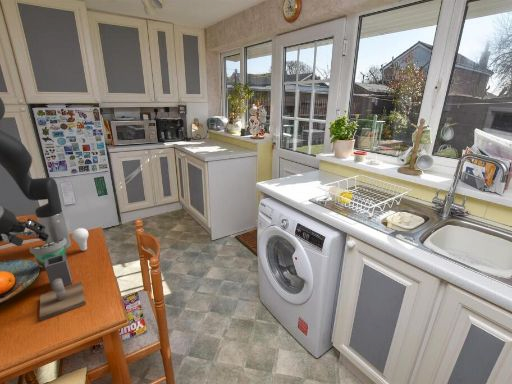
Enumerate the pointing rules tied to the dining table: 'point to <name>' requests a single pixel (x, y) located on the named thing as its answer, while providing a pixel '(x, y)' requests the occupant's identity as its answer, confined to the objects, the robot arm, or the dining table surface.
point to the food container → (49, 251)
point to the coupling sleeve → (58, 270)
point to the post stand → (61, 299)
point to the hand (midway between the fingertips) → (34, 240)
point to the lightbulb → (81, 238)
